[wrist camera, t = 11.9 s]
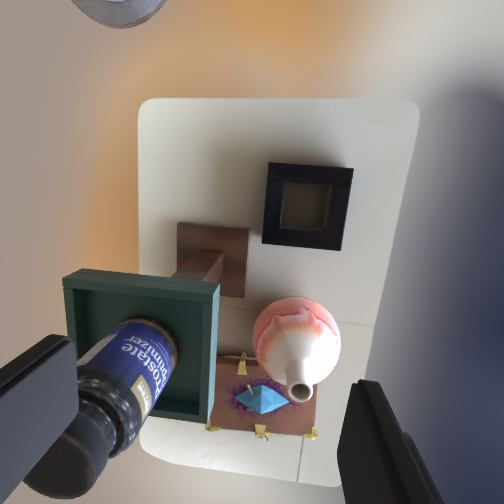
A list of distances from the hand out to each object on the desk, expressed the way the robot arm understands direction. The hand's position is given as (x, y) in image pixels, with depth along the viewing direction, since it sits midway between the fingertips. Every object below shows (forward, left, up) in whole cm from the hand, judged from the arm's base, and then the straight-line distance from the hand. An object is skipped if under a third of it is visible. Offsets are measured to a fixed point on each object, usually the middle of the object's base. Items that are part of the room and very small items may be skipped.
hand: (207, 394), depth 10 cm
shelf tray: (-2, -11, -15) cm, 19 cm away
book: (+20, -26, -40) cm, 52 cm away
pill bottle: (-2, -11, -14) cm, 18 cm away
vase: (+16, -10, -40) cm, 45 cm away
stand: (-2, -11, -40) cm, 42 cm away
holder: (+3, +6, -40) cm, 41 cm away
